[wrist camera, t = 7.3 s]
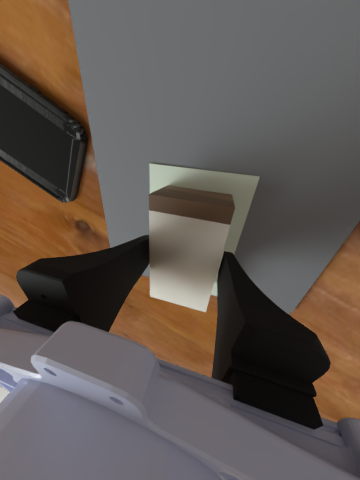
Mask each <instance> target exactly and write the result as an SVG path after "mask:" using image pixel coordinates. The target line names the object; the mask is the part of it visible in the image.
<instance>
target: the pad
mask: <svg viewBox="0 0 360 480" xmlns="http://www.w3.org/2000/svg"><path fill="white" fill-rule="evenodd" d="M149 169H150V193H152V192H154V191H157V190H159V189H161V188H163V187H165V186H167V185H169V186H176V187H183V188H190V189H197V190H204V191H210V192H217V193H224V194H231V195H232V197H233V201H234V205H235V210H234V214H233V217H232V221H231V224H230V228H229V232H228V235H227V239H226V242H225V246H224V249H223V253H222V256H221V260H220V263H219V267H218V270H217V274H216V277H215V281H214V285H213V288H212V292H211V295H214V296H217V279H218V271H219V268H220V264H221V261H222V257H223V254H224V251H227V252H231V253H233V254H235V251H236V248H237V244H238V241H239V238H240V235H241V232H242V229H243V226H244V223H245V220H246V217H247V214H248V211H249V208H250V205H251V202H252V199H253V196H254V193H255V190H256V187H257V184H258V181H259V178H260V177H259V176H252V175H243V174H235V173H226V172H218V171H209V170H201V169H193V168H184V167H176V166H167V165H159V164H149Z"/></svg>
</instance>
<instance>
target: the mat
mask: <svg viewBox="0 0 360 480" xmlns="http://www.w3.org/2000/svg"><path fill="white" fill-rule="evenodd" d="M68 2H69V8H70V13H71V19H72V25H73V31H74V37H75V43H76V49H77V55H78V61H79V66H80V72H81V78H82V84H83V90H84V96H85V102H86V108H87V113H88V119H89V125H90V131H91V137H92V143H93V149H94V155H95V161H96V166H97V172H98V178H99V184H100V190H101V196H102V202H103V208H104V214H105V219H106V225H107V231H108V237H109V243H110V248H112V247H115V246H117V245H120V244H123V243H126V242H128V241H131V240H133V239H136V238H138V237H141V236H143V235H149V194H150V169H149V164H159V165H167V166H176V167H184V168H193V169H201V170H209V171H218V172H226V173H235V174H243V175H252V176H259V177H260V178H259V181H258V184H257V187H256V190H255V193H254V196H253V199H252V202H251V205H250V208H249V211H248V214H247V217H246V220H245V223H244V226H243V229H242V232H241V235H240V238H239V241H238V244H237V248H236V251H235V254H234V256H235V257H236V259H237V261H238V262H239V264H240V265H241V267H242V268H243V270H244V271H245V273H246V274H247V275H248V276H249V278H250V279H251V280H252V281H253V282H254V284H255V285H256V286H257V287H258V288H259V289H260V290H261V291H262V292H263V293H264V294H265V295H266V296H267V297H268V298H269V299H270V300H272V301H273V302H274V303H275V304H276V305H277V306H278V307H280V308H281V309H282V310H283V311H285V312H286V313H289V314H291V313H292V312H293V310H294V309H295V308H296V306H297V305H298V304H299V302H300V301H301V300H302V298H303V297H304V296H305V294H306V293H307V292H308V290H309V289H310V288H311V286H312V285H313V283H314V282H315V281H316V279H317V278H318V277H319V275H320V274H321V273H322V271H323V270H324V269H325V267H326V266H327V265H328V263H329V262H330V261H331V259H332V258H333V256H334V255H335V254H336V252H337V251H338V250H339V248H340V247H341V246H342V244H343V243H344V242H345V240H346V239H347V238H348V236H349V235H350V234H351V232H352V231H353V229H354V228H355V227H356V225H357V224H358V223H359V221H360V0H68ZM142 275H143V276H147V277H150V263H149V265H148V267H147V268H146V270H145V271H144V272H143V274H142Z"/></svg>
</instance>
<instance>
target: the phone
mask: <svg viewBox="0 0 360 480" xmlns="http://www.w3.org/2000/svg"><path fill="white" fill-rule="evenodd" d="M86 147H87V134H86V132H85V129H84V127H83V126H82V124H81V123H80V122H79V121H77V120H76V119H75V118H73V117H72V116H71V115H69V114H68V113H67V112H66V111H65V110H63V109H62V108H60V107H59V106H57V105H56V104H55V103H54V102H53V101H52V100H50V99H49V98H47V97H46V96H45V95H43V94H41V92H40V91H38V90H37V89H36V88H34V87H33V86H32V85H29V84H28V83H26V82H25V81H23V80H22V79H21V78H19V77H18V76H17V75H15V74H14V73H13V72H11V71H10V70H9V69H7V68H6V67H5V66H3V65H2V64H1V63H0V160H1V161H2V162H4V163H5V164H6V165H8V166H9V167H11V168H12V169H14V170H15V171H17V172H18V173H20V174H21V175H23V176H24V177H25V178H27V179H28V180H30V181H31V182H33V183H34V184H36V185H37V186H39V187H40V188H42V189H43V190H44V191H46V192H47V193H49V194H50V195H52V196H53V197H55V198H56V199H58V200H59V201H61V202H64V203H66V202H70V201H73V200H75V199H76V196H77V192H78V187H79V182H80V177H81V172H82V167H83V162H84V157H85V152H86Z"/></svg>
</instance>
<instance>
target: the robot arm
mask: <svg viewBox="0 0 360 480" xmlns="http://www.w3.org/2000/svg"><path fill="white" fill-rule="evenodd" d="M149 263H150V252H149V235H143V236H141V237H138V238H136V239H133V240H131V241H128V242H126V243H123V244H120V245H117V246H115V247H112V248H108V249H105V250H101V251H97V252H92V253H87V254H82V255H75V256H67V257H57V258H41V259H39V260H37V261H35V262H33V263H31V264H30V265H28V266H26V267H24V268H22V269H20V270H19V271H18V272H17V276H16V278H17V281H18V283H19V285H20V287H21V288H22V290H23V291H24V293H25V295H26V296H27V298H28V299H29V300H28V301H26V302H25V303H24V304H22V305H21V306H20V307H18V308H16V307H14V305H13V303H12V302H11V300H10V299H9V298H7V297H6V296H3V295H0V387H2V388H4V389H6V390H8V391H9V392H10V393H9V394H8V395H7V396H6V397H5V399H4V400H3V401H2V402H1V403H0V480H360V420H359V419H355V418H343V419H340V420H339V421H338V422H337V423H336V422H333V421H330V420H327V419H324V418H322V417H320V414H319V412H318V409H317V406H316V404H315V401H314V398H313V397H315V396H316V391H315V389H314V386H313V382H314V381H316V380H317V379H318V378H320V377H321V376H322V375H324V374H325V373H326V372H327V371H328V369H329V368H330V360H329V358H328V356H327V354H326V352H325V350H324V348H323V346H322V344H321V342H320V340H319V339H318V337H317V335H316V334H315V333H314V332H312V331H311V330H309V329H308V328H307V327H305V326H304V325H302V324H301V323H299V322H298V321H297V320H295V319H294V318H292V317H291V316H290V315H288V314H287V313H286V312H285V311H283V310H282V309H281V308H280V307H278V306H277V305H276V304H275V303H274V302H273V301H272V300H270V299H269V298H268V297H267V296H266V295H265V294H264V293H263V292H262V291H261V290H260V289H259V288H258V287H257V286H256V285H255V284H254V282H253V281H252V280H251V279H250V278H249V276H248V275H247V274H246V273H245V271H244V270H243V268H242V267H241V265H240V264H239V262H238V261H237V259H236V257H235V256H234V254H233V253H231V252H227V251H224V254H223V257H222V261H221V264H220V268H219V271H218V279H217V300H218V317H217V330H216V341H215V352H214V362H213V371H212V378H210V377H208V376H205V375H202V374H199V373H197V372H194V371H191V370H188V369H185V368H183V367H180V366H177V365H174V364H171V363H169V362H166V361H163V360H160V359H158V358H156V356H155V354H153V353H152V352H151V351H150V350H149V349H148V348H147V347H145V346H143V345H141V344H139V343H137V342H135V341H132V340H129V339H126V338H123V337H120V336H118V335H115V334H112V333H109V330H110V328H111V326H112V324H113V322H114V320H115V318H116V316H117V314H118V312H119V310H120V308H121V307H122V305H123V303H124V301H125V299H126V298H127V296H128V294H129V292H130V291H131V289H132V288H133V286H134V285H135V283H136V282H137V281H138V279H139V278H140V276H141V275H142V274H143V272H144V271H145V270H146V268H147V267H148V265H149Z"/></svg>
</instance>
